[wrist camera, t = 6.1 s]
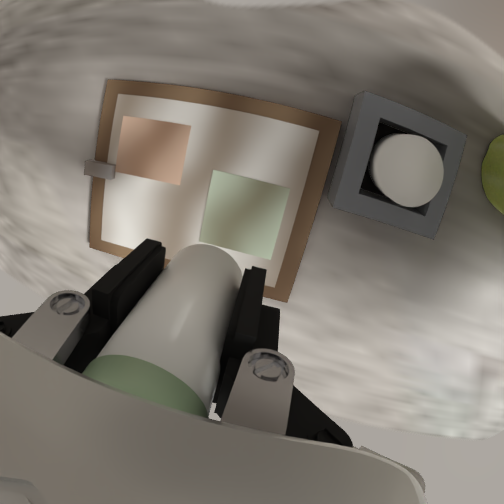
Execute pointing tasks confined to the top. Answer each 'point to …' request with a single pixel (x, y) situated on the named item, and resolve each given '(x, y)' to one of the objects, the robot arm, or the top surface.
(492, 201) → the plant pot
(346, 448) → the robot arm
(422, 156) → the button cap
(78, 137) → the top surface
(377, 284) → the top surface
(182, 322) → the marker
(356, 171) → the button box
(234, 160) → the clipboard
